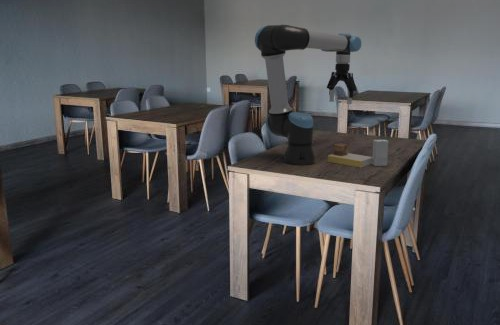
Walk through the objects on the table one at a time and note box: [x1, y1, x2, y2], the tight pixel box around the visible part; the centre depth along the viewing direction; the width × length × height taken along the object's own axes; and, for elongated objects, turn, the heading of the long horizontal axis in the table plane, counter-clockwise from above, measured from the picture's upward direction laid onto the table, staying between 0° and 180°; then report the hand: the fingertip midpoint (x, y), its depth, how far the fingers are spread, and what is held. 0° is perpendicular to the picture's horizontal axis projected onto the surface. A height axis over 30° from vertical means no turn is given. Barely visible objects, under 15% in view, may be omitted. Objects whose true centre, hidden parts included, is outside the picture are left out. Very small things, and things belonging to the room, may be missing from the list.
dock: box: [327, 152, 373, 168], centre depth 223 cm, size 12×18×3 cm, turn 49°
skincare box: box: [371, 139, 389, 167], centre depth 217 cm, size 6×4×12 cm
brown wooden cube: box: [332, 143, 349, 156], centre depth 226 cm, size 5×5×5 cm
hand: (340, 102), depth 252 cm, fingers open, 13 cm apart
